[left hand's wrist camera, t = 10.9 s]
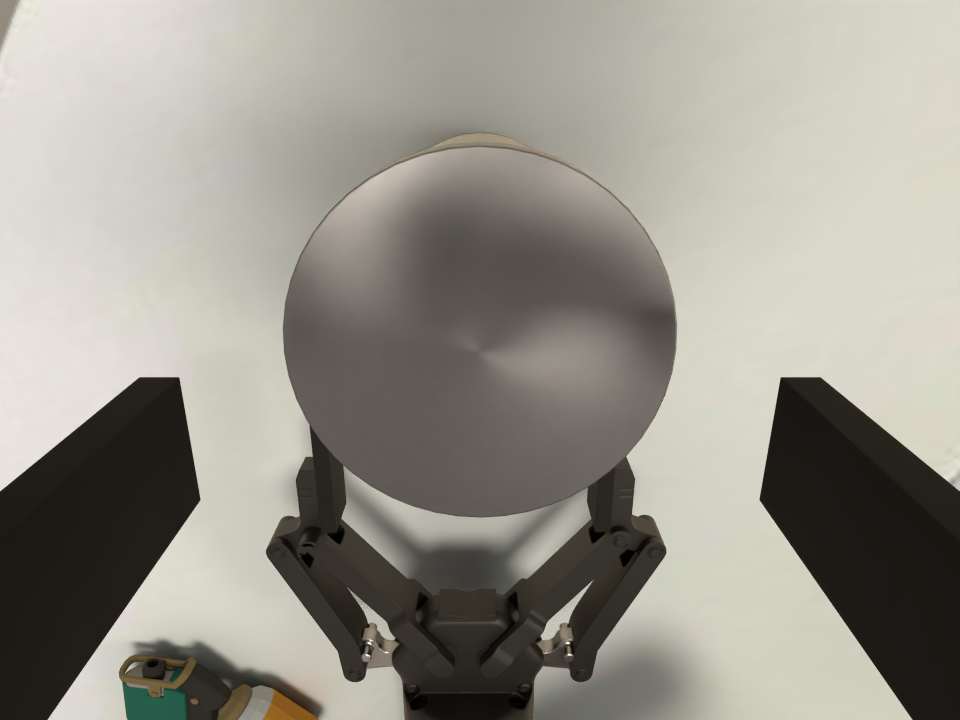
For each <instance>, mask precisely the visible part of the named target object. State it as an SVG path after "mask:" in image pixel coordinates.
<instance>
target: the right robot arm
mask: <svg viewBox="0 0 960 720" xmlns="http://www.w3.org/2000/svg"><path fill="white" fill-rule="evenodd" d="M310 433H311V442H312V452H313V457H306V458H305V460H304V462H303V464H302V466H301V468H300V470H299V472H298V475H297V478H296V485H297V494H298V502H299V511H300V516H299V517H296V518H295V517H293V516H286V517H283V518H282V519H281V520H280V522H279V524H278V526H277V528H276V530H275V532H274V535H273V537H272V539H271V541H270V543H269V545H268V547H267V549H266V555H267V557H268V558H269V560H270V561H271V562H272V564H273V565H274V566H275V568H276V569H277V570H278V572H279V573H280V574H281V576H282V577H283V578H284V580H285V581H286V582H287V584H288V585H289V586H290V588H291V589H292V590H293V592H294V593H295V595H296V596H297V597H298V599H299V600H300V601H301V603H302V604H303V605H304V607H305V608H306V609H307V611H308V612H309V613H310V615H311V616H312V617H313V619H314V620H315V621H316V623H317V624H318V625H319V627H320V628H321V629H322V631H323V632H324V633H325V635H326V636H327V637H328V639H329V640H330V641H331V643H332V644H333V645H334V647H335V648H336V649H337V651H338V654H339V658H340V662H341V666H342V670H343V674H344V676H345V678H346V679H347V680H349V681H351V682H359V681H361V680H363V679H364V677H365V675H366V670H367V668H378V667H389V666H393V667H394V669H395V670H396V671H397V673H398V674H399V675H400V677H401V679H402V683H403V698H404V714H405V720H533V702H534V680H535V677H536V675H537V673H538V672H539V671H540V670H541V668H542V666H547V667H559V668H569V669H570V675H571V677H572V679H573V680H575V681H578V682H584V681H587V680H588V679H590V678H591V676H592V673H593V668H594V664H595V659H596V655H597V651H598V649H599V648H600V647H601V645H602V644H603V642H604V641H605V639H606V638H607V637H608V635H609V634H610V632H611V631H612V630H613V628H614V627H615V625H616V624H617V623H618V621H619V620H620V618H621V617H622V616H623V614H624V613H625V611H626V610H627V609H628V607H629V606H630V604H631V603H632V602H633V600H634V599H635V597H636V596H637V595H638V593H639V592H640V590H641V589H642V588H643V586H644V585H645V583H646V582H647V581H648V579H649V578H650V576H651V575H652V574H653V572H654V571H655V569H656V568H657V567H658V565H659V564H660V562H661V561H662V560H663V558H664V557H665V555H666V547H665V545H664V542H663V540H662V538H661V535H660V533H659V530H658V528H657V526H656V523H655V521H654V519H653V518H652V517H651V516H648V515H641V516H639V517H637V516H634V515H632V507H633V495H634V484H635V478H634V475H633V472H632V470H631V467H630V465H629V462H628V460H627V458H626V457H625V458H623V459H622V460H621V461H620V462H619V463H618V464H617V465H616V466H615V467H614V468H613V469H612V470H611V471H609V472H608V473H607V474H605V475H604V476H603V477H601V478H600V479H599V480H597V481H596V482H594V483H593V484H592V485H590V486H588V495H587V503H588V507H589V511H590V515H591V518H592V519H591V520H590V521H589V522H588V523H587V524H586V525H584V526H583V527H582V528H581V529H580V530H579V531H578V532H577V533H576V534H575V535H574V536H573V537H572V538H571V539H570V540H569V541H568V542H566V543H565V544H564V545H563V546H562V547H561V548H560V549H559V550H558V551H557V552H556V553H555V554H554V555H553V556H552V557H551V558H550V559H548V560H547V561H546V562H545V563H544V564H543V565H542V566H541V567H540V568H539V569H538V570H537V571H536V572H535V573H534V574H533V575H532V576H530V577H529V578H528V579H524V578H523V579H521V580H520V581H518V582H517V583H516V584H515V585H514V586H513V587H512V588H511V589H510V590H509V591H508V592H507V593H506V594H505V595H504V596H502V595H499V594H496V592H495V589H481V590H476V591H472V592H464V591H459V590H454V589H440V594H437V595H434V596H432V595H431V594H430V593H429V592H428V591H427V590H426V589H425V588H424V587H423V586H422V585H420V584H419V583H418V582H417V581H416V580H415V579H410V580H408V579H407V578H406V577H404V576H403V575H402V574H401V573H400V572H399V571H398V570H397V569H396V568H395V567H393V566H392V565H391V564H390V563H389V562H388V561H387V560H386V559H385V558H384V557H383V556H381V555H380V554H379V553H378V552H377V551H376V550H375V549H374V548H373V547H372V546H370V545H369V544H368V543H367V542H366V541H365V540H364V539H363V538H362V537H361V536H360V535H358V534H357V533H356V532H355V531H354V530H353V529H352V528H351V527H350V526H349V525H347V524H346V523H345V522H344V521H343V520H342V519H341V517H342V514H343V511H344V508H345V505H346V494H345V482H344V471H343V464H342V463H341V462H340V461H339V460H337V459H336V458H335V457H334V456H333V454H332V453H331V452H330V451H329V450H328V449H327V447H326V446H325V445H324V444H323V443H322V442H321V440H320V439H319V438H318V436H317V435H316V433H315V432H314V430H313V429H312V427H311V426H310ZM592 580H593V582H592V583H591V585H590V586H589V588H588V589H587V591H586V592H585V593H584V595H583V596H582V598H581V599H580V601H579V602H578V604H577V605H576V607H575V609H574V610H573V612H572V615H571V617H570V620H569V624H568V623H562V624H561V625H560V627H559V628H560V629H559V630H558V631H557V633H556V634H555V636H554V637H553V638H552V639H550V640H542V638H541V636H540V635H541V634H542V633H543V631H544V629H545V626H546V623H547V622H548V620H549V619H551V618H552V617H553V616H554V615H555V614H556V613H557V612H558V611H559V610H560V609H562V608H563V607H564V606H565V605H566V604H567V603H568V602H569V601H570V600H571V599H573V598H574V597H575V596H576V595H577V594H578V593H579V592H580V591H581V590H583V589H584V588H585V587H586V586H587V585H588V584H589V583H590V582H591V581H592ZM347 587H348V588H349V589H350V590H351V591H352V592H353V593H354V594H356V595H357V596H358V597H359V598H360V599H361V600H362V601H364V602H365V603H366V604H367V605H368V606H369V607H370V608H372V609H373V610H374V611H375V612H376V613H377V614H378V615H380V616H381V617H382V618H383V619H384V620H385V621H386V622H387V624H388V626H389V630H390V632H391V633H392V634H393V636H394V637H395V640H386V639H384V638H383V637H382V636H381V634H380V632H379V631H378V630H377V625H376V624H374V623H369V624H368V622H367V618H366V616H365V614H364V612H363V610H362V608H361V607H360V605H359V604H358V602H357V601H356V600H355V598H354V597H353V595H352V594H351V593H350V591H349V590H348V588H347Z"/></svg>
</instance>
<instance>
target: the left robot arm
mask: <svg viewBox="0 0 960 720" xmlns="http://www.w3.org/2000/svg"><path fill="white" fill-rule="evenodd" d="M199 501H200V494H199V489H198V483H197V477H196V471H195V466H194V460H193V454H192V448H191V443H190V437H189V431H188V425H187V420H186V414H185V408H184V402H183V397H182V391H181V385H180V379H179V377H139V378H138V379H137V380H136V381H135V382H133V383H132V384H131V385H130V386H128V387H127V388H126V389H125V390H124V391H122V392H121V393H120V394H119V395H117V396H116V397H115V398H114V399H113V400H111V401H110V402H109V403H108V404H106V405H105V406H104V407H103V408H102V409H100V410H99V411H98V412H97V413H95V414H94V415H93V416H92V417H91V418H89V419H88V420H87V421H86V422H85V423H83V424H82V425H81V426H80V427H78V428H77V429H76V430H75V431H74V432H72V433H71V434H70V435H69V436H67V437H66V438H65V439H64V440H63V441H61V442H60V443H59V444H58V445H56V446H55V447H54V448H53V449H52V450H50V451H49V452H48V453H47V454H45V455H44V456H43V457H42V458H41V459H39V460H38V461H37V462H36V463H34V464H33V465H32V466H31V467H30V468H28V469H27V470H26V471H25V472H23V473H22V474H21V475H20V476H19V477H17V478H16V479H15V480H14V481H12V482H11V483H10V484H9V485H8V486H6V487H5V488H4V489H3V490H1V491H0V720H48V718H49V717H50V715H51V714H52V712H53V711H54V709H55V708H56V707H57V705H58V704H59V702H60V701H61V699H62V698H63V697H64V695H65V694H66V692H67V691H68V689H69V688H70V686H71V685H72V684H73V682H74V681H75V679H76V678H77V676H78V675H79V674H80V672H81V671H82V669H83V668H84V666H85V665H86V664H87V662H88V661H89V659H90V658H91V656H92V655H93V653H94V652H95V651H96V649H97V648H98V646H99V645H100V643H101V642H102V641H103V639H104V638H105V636H106V635H107V633H108V632H109V631H110V629H111V628H112V626H113V625H114V623H115V622H116V620H117V619H118V618H119V616H120V615H121V613H122V612H123V610H124V609H125V608H126V606H127V605H128V603H129V602H130V600H131V599H132V597H133V596H134V595H135V593H136V592H137V590H138V589H139V587H140V586H141V585H142V583H143V582H144V580H145V579H146V577H147V576H148V575H149V573H150V572H151V570H152V569H153V567H154V566H155V564H156V563H157V562H158V560H159V559H160V557H161V556H162V554H163V553H164V552H165V550H166V549H167V547H168V546H169V544H170V543H171V541H172V540H173V539H174V537H175V536H176V534H177V533H178V531H179V530H180V529H181V527H182V526H183V524H184V523H185V521H186V520H187V519H188V517H189V516H190V514H191V513H192V511H193V510H194V508H195V507H196V506H197V504H198V503H199ZM760 501H761V503H762V504H763V506H764V507H765V508H766V510H767V511H768V513H769V514H770V516H771V517H772V519H773V520H774V521H775V523H776V524H777V526H778V527H779V529H780V530H781V531H782V533H783V534H784V536H785V537H786V539H787V540H788V541H789V543H790V544H791V546H792V547H793V549H794V550H795V552H796V553H797V554H798V556H799V557H800V559H801V560H802V562H803V563H804V564H805V566H806V567H807V569H808V570H809V572H810V573H811V575H812V576H813V577H814V579H815V580H816V582H817V583H818V585H819V586H820V587H821V589H822V590H823V592H824V593H825V595H826V596H827V597H828V599H829V600H830V602H831V603H832V605H833V606H834V608H835V609H836V610H837V612H838V613H839V615H840V616H841V618H842V619H843V620H844V622H845V623H846V625H847V626H848V628H849V629H850V631H851V632H852V633H853V635H854V636H855V638H856V639H857V641H858V642H859V643H860V645H861V646H862V648H863V649H864V651H865V652H866V653H867V655H868V656H869V658H870V659H871V661H872V662H873V664H874V665H875V666H876V668H877V669H878V671H879V672H880V674H881V675H882V676H883V678H884V679H885V681H886V682H887V684H888V685H889V686H890V688H891V689H892V691H893V692H894V694H895V695H896V697H897V698H898V699H899V701H900V702H901V704H902V705H903V707H904V708H905V709H906V711H907V712H908V714H909V715H910V717H911V718H912V720H960V491H959V490H957V489H956V488H955V487H954V486H952V485H951V484H950V483H949V482H948V481H946V480H945V479H944V478H943V477H941V476H940V475H939V474H938V473H937V472H935V471H934V470H933V469H932V468H930V467H929V466H928V465H927V464H926V463H924V462H923V461H922V460H921V459H919V458H918V457H917V456H916V455H915V454H913V453H912V452H911V451H910V450H908V449H907V448H906V447H905V446H904V445H902V444H901V443H900V442H899V441H897V440H896V439H895V438H894V437H893V436H891V435H890V434H889V433H888V432H886V431H885V430H884V429H883V428H882V427H880V426H879V425H878V424H877V423H875V422H874V421H873V420H872V419H871V418H869V417H868V416H867V415H866V414H865V413H863V412H862V411H861V410H860V409H858V408H857V407H856V406H855V405H854V404H852V403H851V402H850V401H849V400H847V399H846V398H845V397H844V396H843V395H841V394H840V393H839V392H838V391H836V390H835V389H834V388H833V387H832V386H830V385H829V384H828V383H827V382H825V381H824V380H823V379H822V378H821V377H781V379H780V385H779V391H778V397H777V402H776V408H775V414H774V420H773V425H772V431H771V437H770V443H769V448H768V454H767V460H766V466H765V471H764V477H763V483H762V489H761V494H760Z"/></svg>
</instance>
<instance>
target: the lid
mask: <svg viewBox="0 0 960 720" xmlns="http://www.w3.org/2000/svg"><path fill="white" fill-rule="evenodd" d="M283 339H284V354H285V359H286V365H287V370H288V375H289V378H290V381H291V384H292V387H293V390H294V393H295V396H296V399H297V401H298V403H299V405H300V407H301V409H302V411H303V413H304V415H305V417H306V419H307V421H308V423H309V424H310V426H311V427H312V429H313V430H314V432H315V433H316V435H317V436H318V438H319V439H320V440H321V442H322V443H323V444H324V445H325V446H326V447H327V449H328V450H329V451H330V452H331V453H332V454H333V456H334V457H335V458H336V459H337V460H339V461H340V462H341V463H342V464H343V465H344V466H345V467H346V468H347V469H348V470H350V471H351V472H352V473H353V474H354V475H356V476H357V477H359V478H360V479H361V480H363V481H364V482H366V483H367V484H368V485H370V486H371V487H373V488H375V489H377V490H379V491H380V492H382V493H384V494H386V495H388V496H390V497H391V498H394V499H396V500H399V501H401V502H404V503H406V504H409V505H411V506H414V507H417V508H421V509H425V510H428V511H432V512H435V513H442V514H448V515H454V516H465V517H494V516H507V515H512V514H518V513H524V512H529V511H532V510H535V509H539V508H542V507H546V506H549V505H552V504H554V503H556V502H559V501H561V500H563V499H566V498H568V497H571V496H572V495H574V494H576V493H578V492H580V491H581V490H583V489H585V488H587V487H588V486H590V485H592V484H593V483H594V482H596V481H597V480H599V479H600V478H601V477H603V476H604V475H605V474H607V473H608V472H609V471H611V470H612V469H613V468H614V467H615V466H616V465H617V464H618V463H619V462H620V461H621V460H622V459H623V458H625V457H626V456H627V455H628V453H629V452H630V451H631V450H632V449H633V447H634V446H635V445H636V444H637V443H638V441H639V440H640V439H641V438H642V436H643V435H644V433H645V432H646V430H647V429H648V427H649V425H650V424H651V422H652V421H653V419H654V418H655V416H656V414H657V411H658V409H659V407H660V405H661V403H662V401H663V399H664V396H665V394H666V391H667V387H668V384H669V381H670V378H671V375H672V370H673V365H674V359H675V353H676V339H677V320H676V311H675V302H674V297H673V293H672V289H671V285H670V281H669V277H668V274H667V272H666V269H665V267H664V265H663V262H662V260H661V257H660V255H659V253H658V251H657V249H656V247H655V246H654V244H653V242H652V241H651V239H650V237H649V236H648V234H647V232H646V230H645V229H644V228H643V227H642V225H641V224H640V223H639V222H638V220H637V219H636V218H635V217H634V215H633V214H632V213H631V212H630V210H629V209H628V208H627V207H626V206H625V205H624V204H623V203H622V202H620V201H619V200H618V199H617V198H616V197H615V196H614V195H613V194H612V193H611V192H610V191H609V190H607V189H606V188H605V187H603V186H602V185H600V184H599V183H597V182H596V181H595V180H593V179H592V178H590V177H589V176H588V175H586V174H585V173H583V172H582V171H580V170H579V169H578V168H576V167H574V166H572V165H570V164H568V163H566V162H564V161H562V160H560V159H558V158H556V157H554V156H551V155H548V154H546V153H543V152H540V151H537V150H534V149H531V148H527V147H522V146H517V145H512V144H507V143H496V142H479V141H477V142H465V143H452V144H447V145H443V146H438V147H434V148H429V149H425V150H423V151H420V152H417V153H415V154H412V155H409V156H406V157H404V158H401V159H400V160H398V161H396V162H394V163H392V164H390V165H388V166H386V167H385V168H383V169H381V170H379V171H378V172H376V173H375V174H374V175H372V176H371V177H369V178H368V179H367V180H365V181H364V182H363V183H361V184H360V185H358V186H357V187H356V188H354V189H353V190H352V191H350V192H349V193H348V194H347V195H346V196H345V197H344V198H343V199H342V200H341V201H340V202H339V203H337V204H336V205H335V206H334V207H333V208H332V209H331V210H330V211H329V212H328V214H327V215H326V216H325V218H324V219H323V220H322V222H321V223H320V224H319V225H318V227H317V228H316V229H315V231H314V232H313V233H312V235H311V237H310V239H309V240H308V242H307V244H306V246H305V248H304V249H303V251H302V253H301V255H300V257H299V259H298V262H297V265H296V267H295V270H294V272H293V275H292V277H291V280H290V285H289V289H288V293H287V297H286V302H285V310H284V321H283Z"/></svg>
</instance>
